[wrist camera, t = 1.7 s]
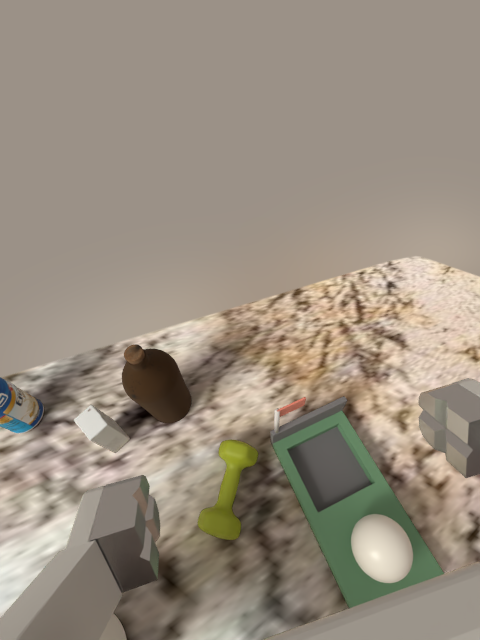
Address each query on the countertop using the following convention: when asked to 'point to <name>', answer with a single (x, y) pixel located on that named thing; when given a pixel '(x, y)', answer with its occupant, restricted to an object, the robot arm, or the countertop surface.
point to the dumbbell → (228, 491)
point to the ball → (382, 548)
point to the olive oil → (155, 383)
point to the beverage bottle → (18, 408)
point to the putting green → (343, 496)
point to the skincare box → (101, 429)
